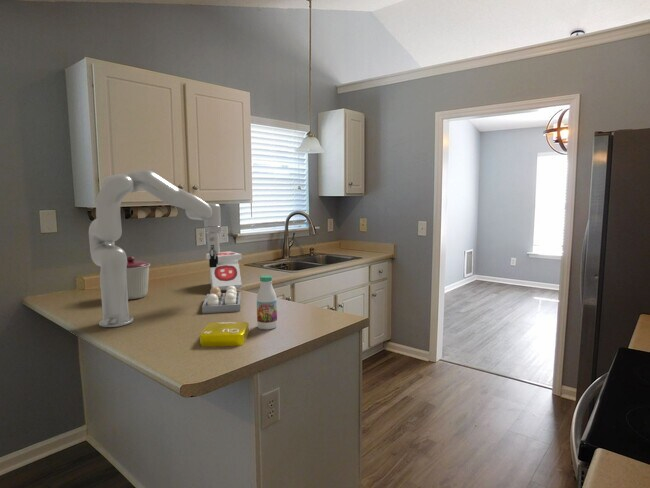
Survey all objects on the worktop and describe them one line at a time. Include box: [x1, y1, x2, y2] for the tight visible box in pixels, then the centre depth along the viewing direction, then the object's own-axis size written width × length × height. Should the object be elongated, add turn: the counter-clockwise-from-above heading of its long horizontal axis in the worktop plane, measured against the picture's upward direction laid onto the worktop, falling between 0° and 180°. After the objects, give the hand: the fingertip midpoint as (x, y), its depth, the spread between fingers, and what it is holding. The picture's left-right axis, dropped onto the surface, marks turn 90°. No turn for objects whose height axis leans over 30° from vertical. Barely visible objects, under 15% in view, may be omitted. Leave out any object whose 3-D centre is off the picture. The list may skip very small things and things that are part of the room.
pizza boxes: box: [205, 251, 243, 291], centre depth 235 cm, size 19×30×18 cm, turn 18°
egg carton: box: [201, 286, 242, 314], centre depth 196 cm, size 24×16×7 cm
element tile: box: [199, 321, 250, 347], centre depth 151 cm, size 15×15×5 cm
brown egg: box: [209, 287, 222, 297], centre depth 203 cm, size 5×5×6 cm
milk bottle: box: [256, 275, 278, 330], centre depth 163 cm, size 8×8×20 cm
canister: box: [126, 255, 151, 300], centre depth 213 cm, size 18×18×21 cm
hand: (213, 265), depth 201 cm, fingers open, 9 cm apart
